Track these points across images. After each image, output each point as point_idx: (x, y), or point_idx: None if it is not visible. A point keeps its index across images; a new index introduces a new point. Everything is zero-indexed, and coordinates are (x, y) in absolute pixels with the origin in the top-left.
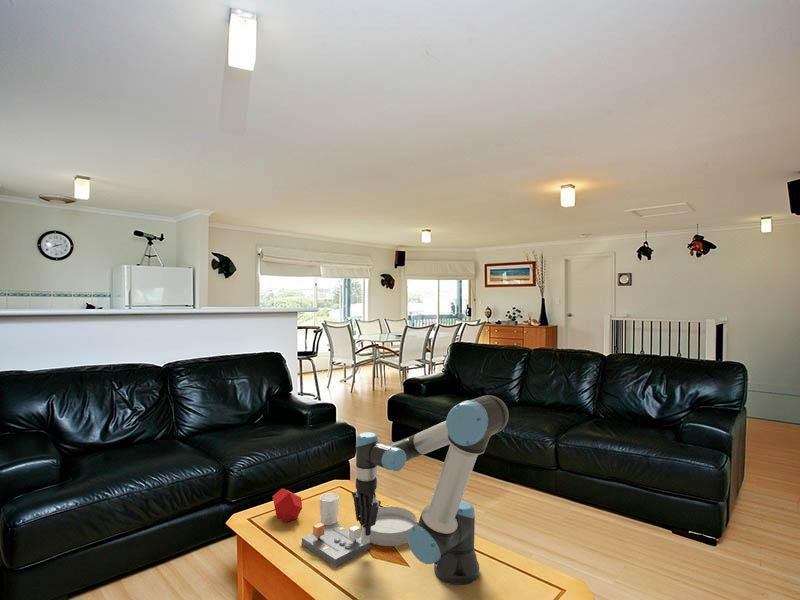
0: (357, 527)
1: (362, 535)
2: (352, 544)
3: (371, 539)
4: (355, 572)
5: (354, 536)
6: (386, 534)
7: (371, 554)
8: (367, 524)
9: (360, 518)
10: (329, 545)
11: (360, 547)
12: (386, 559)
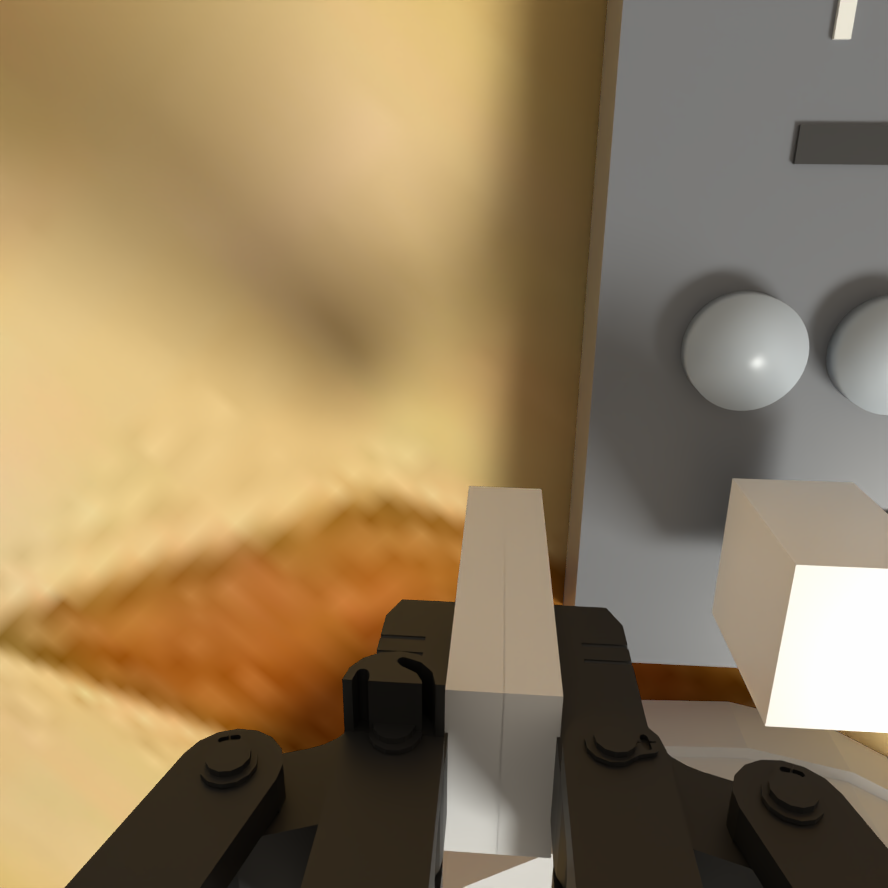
0: (821, 699)
1: (513, 562)
2: (732, 446)
3: (655, 729)
4: (274, 78)
5: (751, 528)
6: (452, 874)
7: (450, 526)
8: (340, 780)
9: (656, 859)
10: None
11: (583, 480)
12: (238, 567)
